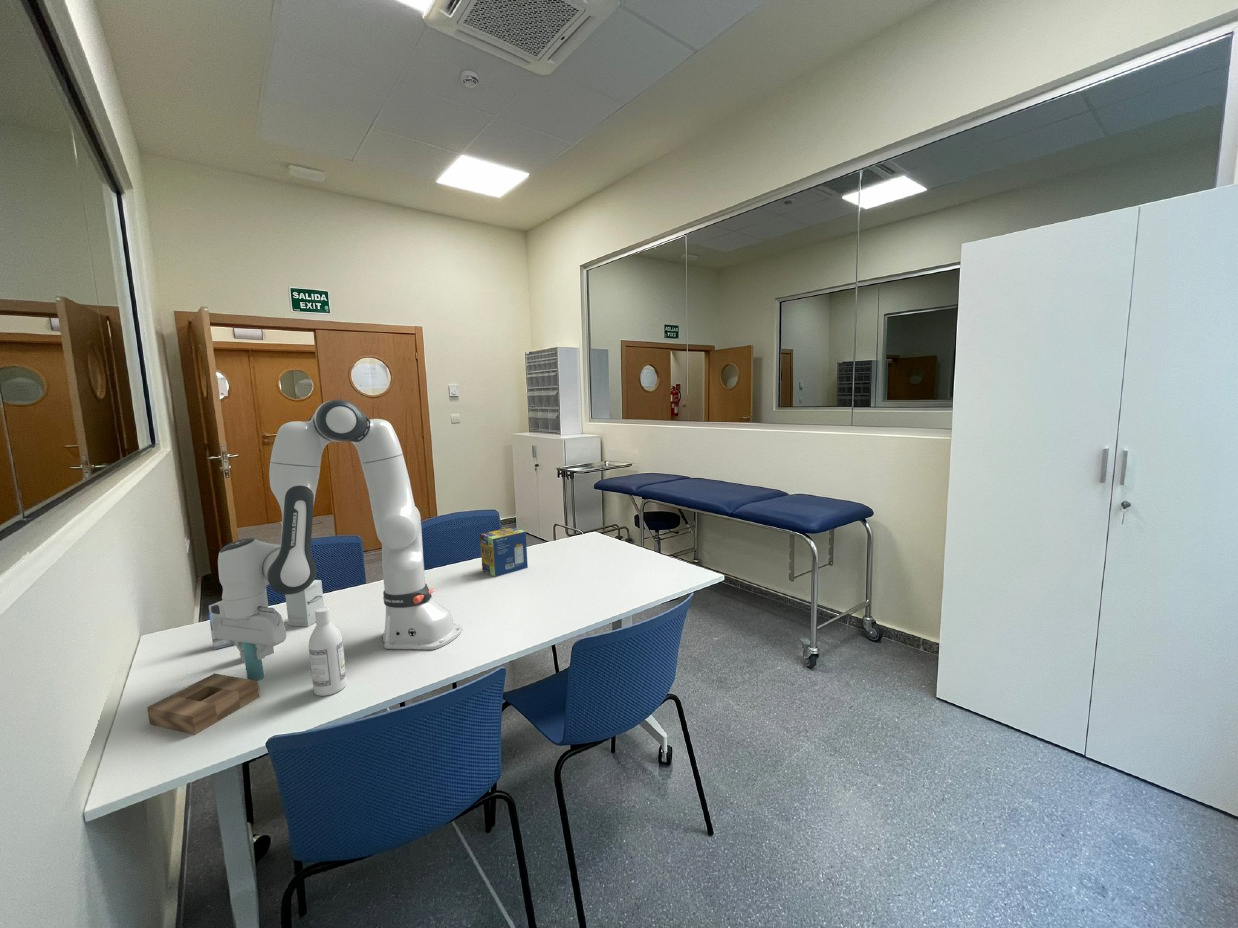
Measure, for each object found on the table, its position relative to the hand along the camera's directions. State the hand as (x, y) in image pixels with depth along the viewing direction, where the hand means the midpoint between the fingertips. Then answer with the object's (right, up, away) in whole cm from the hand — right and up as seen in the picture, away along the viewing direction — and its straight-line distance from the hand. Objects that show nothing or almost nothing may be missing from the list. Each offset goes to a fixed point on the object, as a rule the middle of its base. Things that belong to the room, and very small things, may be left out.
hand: (253, 657), depth 127 cm
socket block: (-2, -7, -12) cm, 14 cm away
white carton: (-8, -5, +12) cm, 15 cm away
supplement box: (-7, -2, +34) cm, 35 cm away
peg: (0, -6, +1) cm, 6 cm away
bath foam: (+22, -6, -5) cm, 24 cm away
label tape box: (-21, -4, +21) cm, 30 cm away
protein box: (+46, +6, +78) cm, 91 cm away
